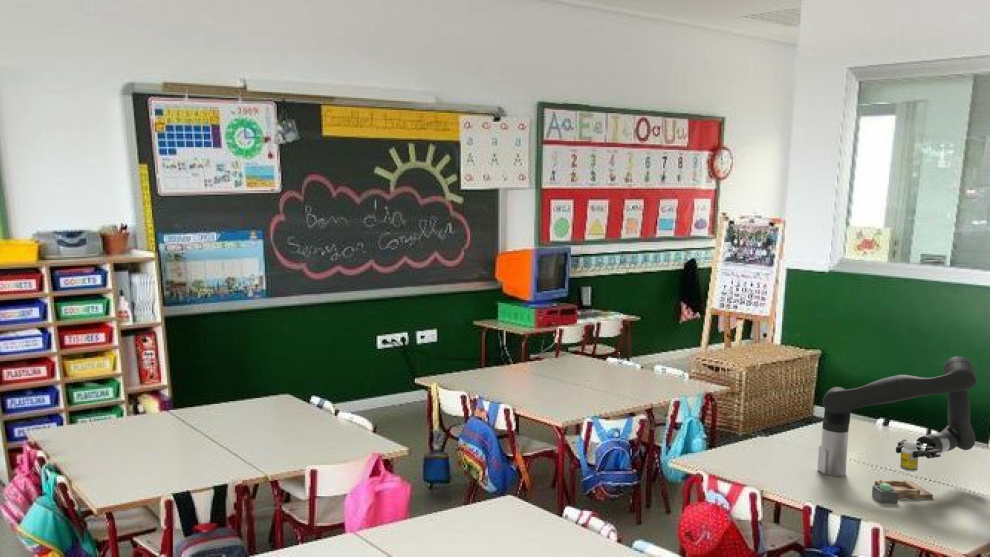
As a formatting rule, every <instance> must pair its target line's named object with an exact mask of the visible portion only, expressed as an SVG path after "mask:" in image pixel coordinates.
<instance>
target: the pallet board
mask: <svg viewBox="0 0 990 557" xmlns="http://www.w3.org/2000/svg"><path fill="white" fill-rule="evenodd" d="M880 483H886V484H890V485H891V487H892V488H893V489H894V490H896V491H897V492H899V493H898V498H926V499H925V500H933V499H934V494H932V493H931V492H930V491H928V490H926V489H925V488H923V487H921V486H920V485H918V484H917V483H916V482H914V481H911V480H908V481H907V480H895V479H894V480H891V479H890V480H889V479H888V480H887V479H884V480H883V479H880V480H875V481H874V486H880Z"/></svg>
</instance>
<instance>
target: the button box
mask: <svg viewBox="0 0 990 557" xmlns="http://www.w3.org/2000/svg"><path fill="white" fill-rule="evenodd" d="M871 488H872V490H871V498H875V501H877V502H878V501H879V502H878V503H880V504H899V499H898V493H899V492H897V491H896V490H894V489H893V488H892V487H891V491H881V490H880V486H876V485H872V487H871Z"/></svg>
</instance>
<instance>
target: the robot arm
mask: <svg viewBox="0 0 990 557" xmlns="http://www.w3.org/2000/svg"><path fill="white" fill-rule="evenodd" d="M943 373H944V374H943V375H939V376H933V377H923V376H922V377H921V376H915V375H909V374H897V375H893V376H888V377H883V378H880V379H878V380H875V381H872V382H870V383H867V384H864V385H861V386H859V387H854V388H849V389H845V388H844V387H841V386H834V387H832V388H829V390H827V392H826V393H825V394H824V396H823V397H822V405H823V408H824V412H823V419H822V431H821V445H819V446H818V457H817V458H818V460H817V470H818V472H819V471H820V473H822V474H823V475H826V476H832V477H833V476H834V477H843V476H846V473H847V460H848V458H847V456H848V446H849V445H848V442H849V431H850V430H849V427H850V423H851V411H853V410H857V409H860V408H864V407H869V406H879V405H884V404H892V403H897V402H901V401H906V400H910V399H915V398H922V397H926V396H933V395H940V394H947V425H946V427H945V428H944V429H942V430H941V431H940V432H934V433H930V434H926V435H922V436H920V437H918V438H917V440H915V441H914V442H915V443H916V449H917V451H914V452H913V458H918V459H919V458H925V457H926V459H934V458H941V455H942V454H944V453H946V452H949V451H952V450H955V449H956V448H958V449H960V450H963V451H969V450H971V449H972V448H973V447H974V446H975V444H976V434H975V431H974V429H973V427H972V424H971V407H970V400H969V399H970V398H969V390H970V389H973V388H974V387H975V386H976V384H977V382H978V381H977V376H976V372H975V368H974V366H973V364H972V363H971V362H970V360H969V359H968V358H966V357H963V356H953V357H950V358H948V359H947V360H946V361H945V362H944V364H943ZM904 441H908V440H907V439H902V440H900V441H897V446H895V453H897V454H901V449H902V448H903V447H904Z"/></svg>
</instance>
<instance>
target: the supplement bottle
mask: <svg viewBox="0 0 990 557" xmlns="http://www.w3.org/2000/svg"><path fill="white" fill-rule="evenodd" d="M914 451H917V449H916V443H915V441H911V440H907V441H904V447H903V448H902V449H901V453H900V465H899V466H900V469H901V470H902V471H906V472H912V473H914V472H917V471H918V469H919V467H918V466H919V457H918V458H913V452H914Z"/></svg>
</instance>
